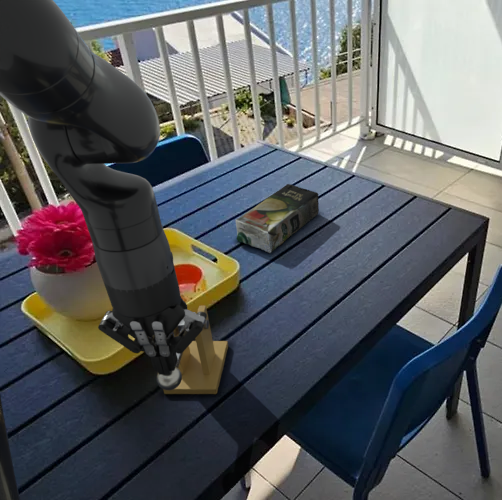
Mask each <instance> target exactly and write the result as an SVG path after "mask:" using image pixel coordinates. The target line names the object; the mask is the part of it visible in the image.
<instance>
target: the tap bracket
mask: <svg viewBox="0 0 502 500" xmlns="http://www.w3.org/2000/svg"><path fill="white" fill-rule="evenodd" d="M201 311H202V312H205V313H206V314H207V317H206V320H205V324H204V326H203V330H202V331H201V333H200V334H199V335H198V336H197V337H196V338H195V339H194V340H193V341H192V343H191V344H190V345H189V346H188V347H187V348H186V349H185V350H184V352H183V355H182V358H181V361H180V364H179V367H178V369H179V370H180V371H181V373H182V380H181V383H180V384H179V386H178V387H176V388H175V389H173V390H164V389H162V390H163V394H164V395H217V394H218V391H219V386H220V382H221V378H222V374H223V370H224V366H225V362H226V357H227V354H228V349H229V342H228V340H213V335H212V331H211V330H212V329H211V325H210V321H209V319H210V318H209V314H208V310H207V305H199V306H198V308H197V312H196V314H197V313H198V312H201ZM178 335H179V332H178V329H177V327H176V329H175V330H174V337H177V336H178Z"/></svg>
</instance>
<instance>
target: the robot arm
mask: <svg viewBox="0 0 502 500" xmlns="http://www.w3.org/2000/svg"><path fill="white" fill-rule="evenodd" d="M0 97H2V98H3V99H4V100H5V101H7V102H8V103H9V104H10V105H11V106H13V107H14V108H15V109H16V110H18V111H19V112H20V113H22V114H23V115H25V116H27V121H28V123H27V124H28V128H29V132H30V135H31V138H32V141H33V143H34V145H35V147H36V149H37V150H38V152H39V154H40V155H41V156H42V159H43V160H44V161H45V163H46V164H47V166H48V167H49V168H50V169H51V171H52V172H53V173H54V175H55V176H56V177H57V178H58V180H59V181H60V183H61V184H62V186H64V188H65V189H66V191H67V192H68V193H69V195H70V197H71V198H72V199H73V200H74V202H75V203H76V205H77V206H78V208H79V209H80V211H81V213H82V216H83V218H84V222H85V225H86V227H87V231H88V233H89V237H90V239H91V242H92V246H93V252H94V253H93V254H94V258H95V261H96V264H97V268H98V271H99V273H100V276H101V279H102V282H103V284H104V285H103V286H104V288H105V290H106V293H107V296H108V299H109V302H110V305H111V307H112V310H107V311H106V312H105V313H104V315H103V317H102V319H101V320H100V322H99V325H98V327H97V329H98V330H99V331H100V332H102V333H103V334H105V335H106V336H108V337H109V338H111V340H113V341H115V342H117V343H118V344H119V345H121V346H122V347H124V348H126V349H127V350H129V352H132V353H134V354H140V353H141V352H143V353H145V354H146V355H147V356H148V357H149V359H150V363H151V365H152V366H151V367H152V369H153V370H154V371H156V372H157V374H158V373H159V375H171V373H172V371H174V370H175V367H176V364H177V361H178V358H177V354H176V353H178V354H180V353H183V351H184V350H185V349H186V348H187V347H188V346H189V345H190V344H191V343H192V341H195V340H196V339H195V338H196V337H197V336H198V335H199V334H200V333H201V331H202V330H203V326H204V324H205V320H206V317H207V314H208V313H207V314H206V313H205V312H202V311H201V312H198V313H197V312H196V314H195V313H194V312H195V311H192V310H189V309H188V304H187V302H186V301H185V300H183V298H182V296H181V289H180V284H179V280H178V276H177V271H176V268H175V263H174V254H173V252H172V251H171V245H170V242H169V240H168V237H167V235H166V233H165V230H164V227H163V224H162V219H161V215H160V211H159V206H158V203H157V202H158V201H157V198H156V193H155V191H154V188H153V186H152V184H151V183H150V182H149V181H148V180H147V179H146V178H145V177H142V176H140V175H137V174H133V173H128V172H125V171H121V170H118V169H117V170H116V169H113V168H111V167H109V166H108V164H117V165H119V164H121V165H122V164H134V163H138V162H141V161H144V160H146V159H147V158H149V157H150V156H151V155H152V154H153V153H154V151H155V149H157V146H158V144H159V141H160V136H161V125H160V119H159V116H158V113H157V110H156V108H155V106H154V104H153V102H152V101H151V99H150V97H149V96H148V95H147V93H146V92H145V91H144V90H143V89H142V87H141V86H140V85H138V83H136V81H134V80H133V79H131V78H130V77H129V76H127V74H125V73H124V72H122V71H121V70H119V69H118V68H117V67H115V66H114V65H112V64H111V63H110V62H108V61H107V60H106V59H104V58H102V57H101V56H99V55H97V54H96V53H94V52H92V49H90V47H89V46H88V45H87V43H86V42H85V41H84V39H83V38H82V36H81V35H80V33H79V32H78V31H77V30H76V28H75V27H74V25H73V23H71V21H70V19H69V18H68V17H67V16H66V14H65V13H64V11H63V10H62V9H61V7H60V6H58V4H57V3H56V2H55V1H54V0H0ZM106 164H107V165H106ZM182 319H183V320H184V321H185V323H184V327H185V328H184V329H183V330H182V331H181V332H180V334H179V335H178V336H177V337H174V330H175V329H176V327H177V326H178V325H179V323H180V322H181V321H182ZM129 336H130V337H129ZM132 338H133V339H134V340H133V339H132ZM2 402H3V401H2V395H1V394H0V500H21V497H20V493H19V487H18V484H17V479H16V474H15V470H14V469H15V468H14V464H13V458H12V453H11V446H10V441H9V435H8V431H7V425H6V420H5V413H4V408H3V403H2Z"/></svg>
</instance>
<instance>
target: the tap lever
mask: <svg viewBox="0 0 502 500" xmlns="http://www.w3.org/2000/svg"><path fill="white" fill-rule="evenodd" d="M193 312H194V313H195V314H197V312H195V311H193ZM184 323H185V321H184V320H183V319H182V321H181V322H180V323H179V325H178V326H177V329H178V332H179V334H180V332H181V331H182V330H183V329H184V328H185V327H184ZM183 352H184V351H183ZM176 354H177V358H178V361H177V364H176V367H175V370H174V371H172V373H171V375H159V373H158V372H157V373H156V383H157V385H158V386H159V388H160V389H162V390H163V389H164V390H173V389H175V388H176V387H178V386H179V384H180V383H181V380H182V373H181V371H180V370H179V369H178V367H179V364H180V361H181V358H182V355H183V353H180V354H178V353H176Z"/></svg>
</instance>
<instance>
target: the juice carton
mask: <svg viewBox="0 0 502 500" xmlns="http://www.w3.org/2000/svg"><path fill="white" fill-rule="evenodd" d="M319 212H320V209H319V193H318V192H316V191H313V190H310V189H307V188H303V187H300V186H296V185H294V184H290V183H287V184H286V185H284V186H282V187H281V188H280V189H279V190H276V191H275V192H274V193H273V194H271V195H269V196H268V197H267V198H265V199H263V200H262V201H261V202H260V203H258V204H257V205H256V206H254V207H253V208H251V209H249V210H248V211H246V212H245V213H244V214H242V215H241V216H240V217H238V218H236V219H235V226H236V241H237V242H238V243H243V244H246V245H249V246H251V247H253V248H256V249H260V250H262V251H265V252H267V253H269V254H271V253H272V252H274V251H275V250H276V249H277V248H278V247H280V246H281V245H282V244H283V243H284V242H286V240H288V239H289V238H290V237H291V236H292V235H294V234H295V233H297V232H298V231H299V230H300V229H302V227H304V226H306V225H307V223H309V222H311V220H313V219H314V218H315V217H317V215H318V214H319Z"/></svg>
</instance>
